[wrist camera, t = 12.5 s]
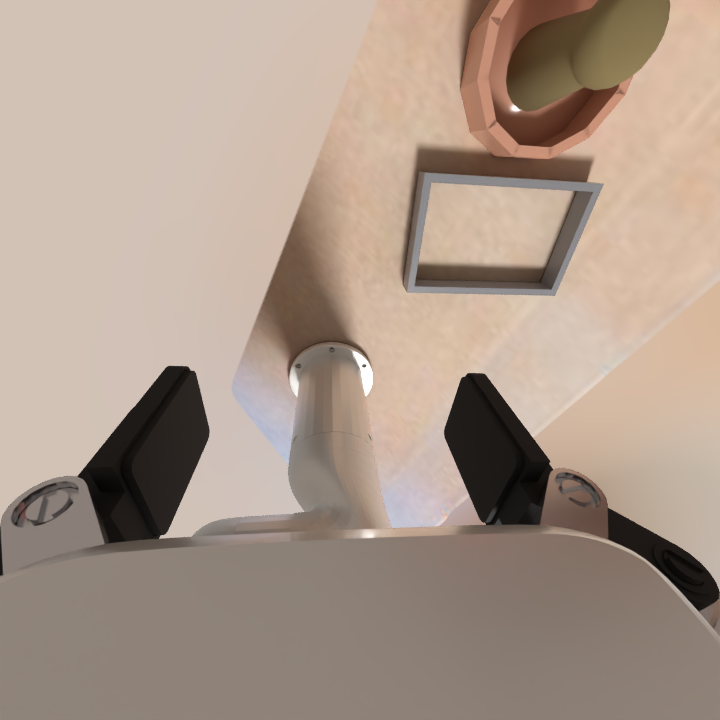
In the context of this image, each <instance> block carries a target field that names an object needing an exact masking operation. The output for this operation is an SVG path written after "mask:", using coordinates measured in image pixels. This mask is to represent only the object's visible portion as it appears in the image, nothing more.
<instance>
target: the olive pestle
mask: <svg viewBox="0 0 720 720" xmlns="http://www.w3.org/2000/svg"><path fill="white" fill-rule="evenodd" d="M669 11H670V1H669V0H598V1H597V2H596V3H595V4H594V5H593V7H592V8H590V9H587V10H584V11H580V12H577V13H574V14H570V15H567V16H564V17H560V18H557V19H554V20H551V21H547V22H544V23H541V24H539V25H537V26H535V27H534V28H532V29H530V30H529V31H528V32H527V33H526V34H525V35H524V36H523V37H522V38H521V39H520V41H519V43H518V44H517V46H516V48H515V49H514V51H513V53H512V55H511V58H510V61H509V64H508V67H507V76H506V86H507V93H508V95H509V98H510V100H511V102H512V103H513V104H514V105H515V106H516V107H517V108H518V109H520V110H524V111H527V112H528V111H535V110H538V109H540V108H542V107H545V106H547V105H549V104H551V103H553V102H555V101H557V100H559V99H561V98H563V97H565V96H567V95H569V94H571V93H573V92H575V91H578V90H580V89H582V88H584V87H586V88H589V89H592V90H601V89H607V88H612V87H614V86H616V85H618V84H620V83H622V82H624V81H626V80H627V79H629V78H630V77H632V76H633V75H634V74H635V73H636V72H637V71H638V70H640V69H641V68H642V67H643V66H644V64H645V63H646V62H647V61H648V59H649V58H650V57H651V55H652V54H653V53H654V52H655V50H656V49H657V47H658V45H659V43H660V41H661V39H662V37H663V35H664V32H665V29H666V26H667V23H668V20H669Z"/></svg>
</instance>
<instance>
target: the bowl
mask: <svg viewBox="0 0 720 720" xmlns="http://www.w3.org/2000/svg"><path fill="white" fill-rule="evenodd" d="M597 1H598V0H490V1H489V3H488V4H487V6H486V8H485V9H484V11H483V13H482V14H481V16H480V18H479V19H478V21H477V23H476V25H475V26H474V28H473V30H472V31H471V33H470V38H469V43H468V49H467V54H466V60H465V65H464V71H463V76H462V82H461V87H460V90H461V94H462V99H463V103H464V107H465V112H466V116H467V121H468V125H469V129H470V133H471V134H473V135H474V136H475V137H476V138H477V139H478V140H479V141H480V142H481V143H482V144H483V145H484V146H485V147H486V148H487V149H488V150H489V151H490V152H491V153H492V154H493V155H494V156H500V157H514V158H531V159H550V158H552V157H554V156H556V155H558V154H560V153H562V152H563V151H565V150H567V149H569V148H571V147H573V146H575V145H576V144H578V143H580V142H582V141H584V140H586V139H588V138H589V137H590V136H591V135H592V134H593V132H594V131H595V130H596V129H597V128H598V127H599V125H600V124H601V123H602V122H603V121H604V119H605V118H606V117H607V116H608V115H609V113H610V112H611V111H612V110H613V109H614V108H615V106H616V105H617V104H618V103H619V102H620V100H621V99H622V98H623V97H624V96H625V94H626V92H627V89H628V87H629V85H630V82H631V80H632V77H633V76H632V77H630V78H629V79H627V80H626V81H624V82H622V83H620V84H618V85H616V86H614V87H612V88H607V89H601V90H592V89H589V88H586V87H584V88H582V89H580V90H578V91H575V92H573V93H571V94H569V95H567V96H565V97H563V98H561V99H559V100H557V101H555V102H553V103H551V104H549V105H547V106H545V107H542V108H540V109H538V110H535V111H528V112H527V111H524V110H520V109H518V108H517V107H516V106H515V105H514V104H513V103H512V102H511V100H510V98H509V95H508V93H507V86H506V76H507V67H508V64H509V61H510V58H511V55H512V53H513V51H514V49H515V48H516V46H517V44H518V43H519V41H520V39H521V38H522V37H523V36H524V35H525V34H526V33H527V32H528V31H529V30H530V29H532V28H534V27H535V26H537V25H539V24H541V23H544V22H547V21H551V20H554V19H557V18H560V17H564V16H567V15H570V14H574V13H577V12H580V11H584V10H587V9H590V8H592V7H593V5H594V4H595V3H596V2H597Z"/></svg>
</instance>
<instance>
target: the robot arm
mask: <svg viewBox="0 0 720 720" xmlns="http://www.w3.org/2000/svg"><path fill="white" fill-rule="evenodd" d="M331 347H333V348H331ZM372 382H373V372H372V367H371V365H370V362H369V361H368V359H367V358H366V356H365V355H364V354H363V353H362V352H361V351H359V350H358V349H356V348H354V347H352V346H350V345H347V344H344V343H339V342H325V343H319V344H316V345H313V346H311V347H309V348H307V349H305V350H304V351H302V352H301V353H300V354H299V355H298V356H297V357H296V358H295V360H294V362H293V363H292V365H291V369H290V374H289V383H290V387H291V390H292V391H293V393H294V395H295V396H296V397H297V403H296V411H295V419H294V427H293V435H292V443H291V450H290V458H289V466H288V476H289V483H290V486H291V489H292V492H293V494H294V496H295V498H296V499H297V501H298V503H299V504H300V506H301V507H302V508H303V510H304V511H305V512H301V513H294V514H283V515H265V516H248V517H238V518H228V519H222V520H218V521H214V522H211V523H209V524H207V525H205V526H203V527H202V528H201V529H199V530H198V531H197V532H196V533H195V534H194V535H193V536H192V537H182V538H166V539H159V537H160V535H164V534H166V532H167V531H168V529H169V527H170V525H171V523H172V521H173V518H174V516H175V514H176V511H177V509H178V507H179V505H180V502H181V500H182V498H183V495H184V493H185V491H186V489H187V486H188V484H189V482H190V480H191V477H192V475H193V472H194V470H195V468H196V466H197V464H198V461H199V459H200V457H201V454H202V452H203V450H204V448H205V445H206V443H207V441H208V438H209V425H208V422H207V418H206V413H205V409H204V405H203V401H202V397H201V393H200V388H199V384H198V380H197V376H196V373H195V371H190V369H189V367H187V366H168V367H166V368H165V370H164V371H163V372H162V373H161V375H160V376H159V377H158V378H157V380H156V381H155V382H154V383H153V385H152V386H151V387H150V388H149V390H148V391H147V392H146V393H145V395H144V396H143V397H142V398H141V400H140V401H139V402H138V403H137V404H136V406H135V407H134V408H133V409H132V410H131V411H130V412H129V413H128V414H127V416H126V417H125V418H124V419H123V421H122V422H121V423H120V424H119V426H118V427H117V428H116V429H115V431H114V432H113V433H112V434H111V436H110V437H109V438H108V439H107V440H106V442H105V443H104V444H103V445H102V447H101V448H100V449H99V450H98V452H97V453H96V454H95V455H94V457H93V458H92V459H91V460H90V462H89V463H88V464H87V465H86V467H85V468H84V469H83V470H82V471H81V473H80V474H79V475H78V476H77V477H75V476H64V477H58V478H54V479H51V480H48V481H45V482H42V483H40V484H38V485H37V486H34V487H32V488H31V489H29V490H27V491H26V492H25V493H23V494H22V495H20V496H19V497H18V498H17V499H16V500H15V501H14V502H13V503H12V504H10V505H9V506H8V508H7V509H6V511H5V512H4V514H3V516H2V520H1V524H0V720H720V592H719V589H718V586H717V584H716V582H715V580H714V579H713V577H712V576H711V574H710V573H709V572H708V570H707V569H706V568H705V567H704V566H703V565H702V564H701V563H700V562H699V561H698V560H696V559H695V558H694V557H693V556H692V555H691V554H689V553H688V552H686V551H685V550H683V549H682V548H680V547H678V546H677V545H675V544H673V543H671V542H669V541H668V540H666V539H664V538H662V537H660V536H658V535H657V534H654V533H653V532H651V531H649V530H648V529H646V528H644V527H642V526H640V525H638V524H636V523H635V522H633V521H631V520H629V519H628V518H626V517H624V516H622V515H620V514H618V513H617V512H615V511H613V510H611V509H609V508H608V504H607V499H606V497H605V495H604V493H603V492H602V490H601V489H600V488H599V487H598V486H597V485H596V484H595V483H594V482H593V481H592V480H590V479H589V478H587V477H586V476H584V475H582V474H581V473H579V472H576V471H574V470H571V469H566V468H557V469H554V470H553V469H552V467H551V466H550V465H549V462H550V460H549V459H548V458H547V456H546V455H545V454H544V452H543V451H542V450H541V448H540V447H539V446H538V444H537V443H536V441H535V440H534V439H533V437H532V436H531V435H530V433H529V432H528V431H527V429H526V428H525V427H524V425H523V424H522V423H521V421H520V420H519V419H518V417H517V416H516V415H515V413H514V412H513V411H512V409H511V408H510V407H509V405H508V404H507V403H506V401H505V400H504V399H503V397H502V396H501V395H500V393H499V392H498V391H497V389H496V388H495V387H494V385H493V384H492V383H491V381H490V380H489V379H488V377H487V376H486V375H485V374H482V373H468V374H467V375H466V376H465V377H462V378H461V381H460V384H459V387H458V390H457V393H456V396H455V399H454V402H453V405H452V408H451V411H450V414H449V417H448V420H447V423H446V426H445V430H444V435H445V439H446V441H447V444H448V446H449V449H450V451H451V453H452V456H453V458H454V460H455V463H456V465H457V467H458V470H459V472H460V474H461V477H462V479H463V481H464V484H465V486H466V488H467V491H468V493H469V495H470V498H471V500H472V502H473V505H474V507H475V509H476V512H477V514H478V516H479V518H480V520H481V521H482V522H485V523H486V525H470V526H440V527H411V528H392V527H391V524H390V521H389V518H388V515H387V512H386V508H385V504H384V501H383V496H382V492H381V487H380V482H379V477H378V471H377V465H376V459H375V452H374V446H373V439H372V433H371V426H370V420H369V413H368V407H367V400H366V395H367V394H368V393H369V391H370V389H371V386H372Z"/></svg>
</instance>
